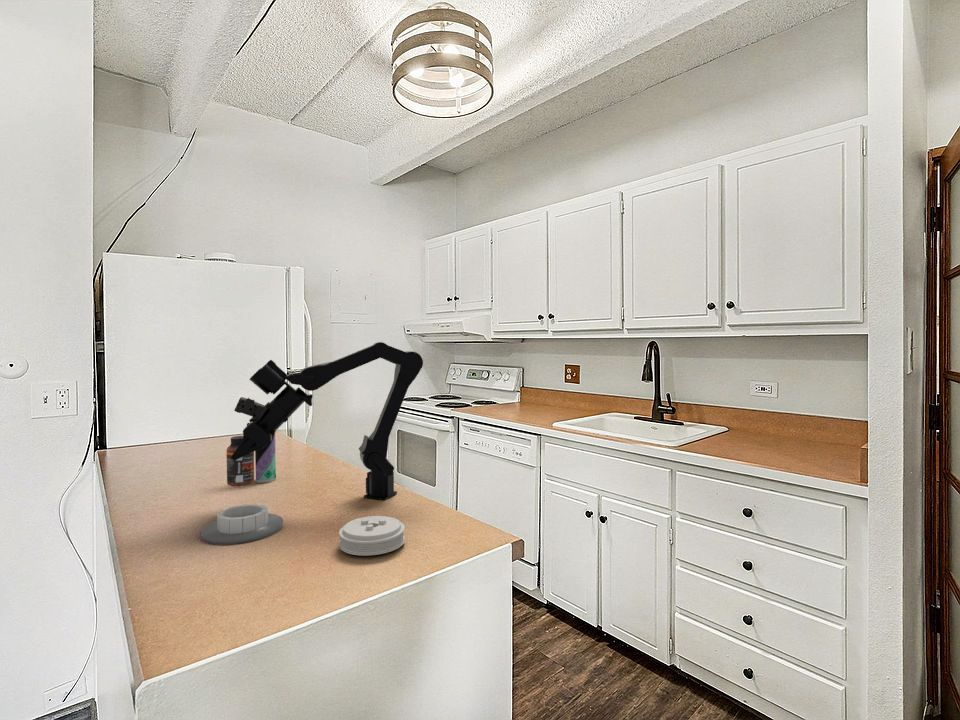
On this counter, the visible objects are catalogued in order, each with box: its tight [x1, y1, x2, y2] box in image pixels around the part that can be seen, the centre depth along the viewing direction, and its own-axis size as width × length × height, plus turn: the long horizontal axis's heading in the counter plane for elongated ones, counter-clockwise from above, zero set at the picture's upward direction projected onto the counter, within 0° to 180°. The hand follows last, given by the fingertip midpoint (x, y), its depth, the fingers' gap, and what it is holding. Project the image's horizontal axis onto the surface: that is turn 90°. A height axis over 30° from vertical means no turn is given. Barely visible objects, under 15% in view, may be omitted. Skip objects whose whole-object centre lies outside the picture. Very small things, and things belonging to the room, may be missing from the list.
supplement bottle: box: [226, 435, 255, 487], centre depth 121 cm, size 6×6×11 cm
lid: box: [338, 515, 406, 557], centre depth 100 cm, size 13×13×5 cm
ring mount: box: [200, 503, 284, 546], centre depth 109 cm, size 16×16×4 cm
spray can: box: [254, 432, 277, 484], centre depth 148 cm, size 6×6×20 cm
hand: (233, 456), depth 120 cm, fingers closed on supplement bottle, 6 cm apart
